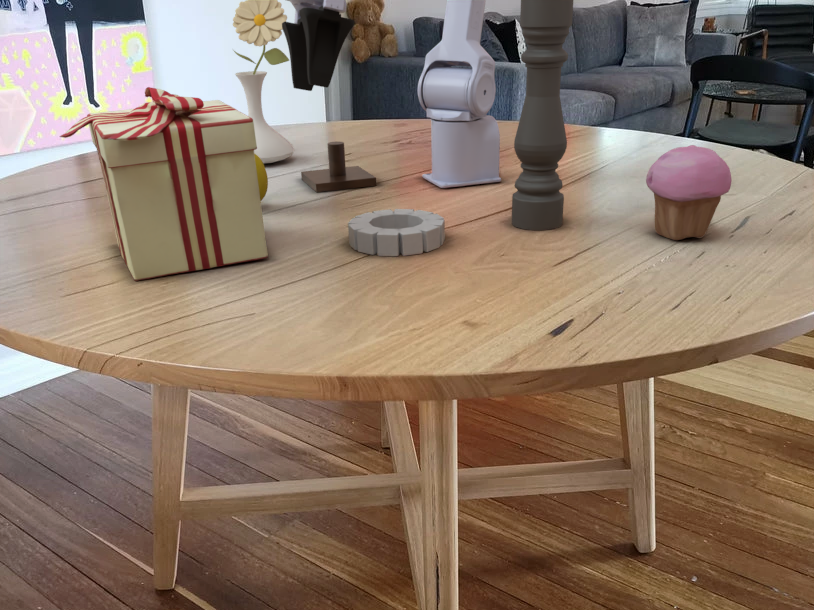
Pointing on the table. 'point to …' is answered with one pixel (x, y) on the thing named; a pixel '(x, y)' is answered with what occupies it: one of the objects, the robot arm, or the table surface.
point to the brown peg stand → (337, 173)
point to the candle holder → (541, 116)
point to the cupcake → (687, 190)
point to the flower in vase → (260, 26)
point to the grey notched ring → (396, 232)
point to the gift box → (180, 183)
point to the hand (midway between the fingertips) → (310, 87)
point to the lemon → (261, 177)
